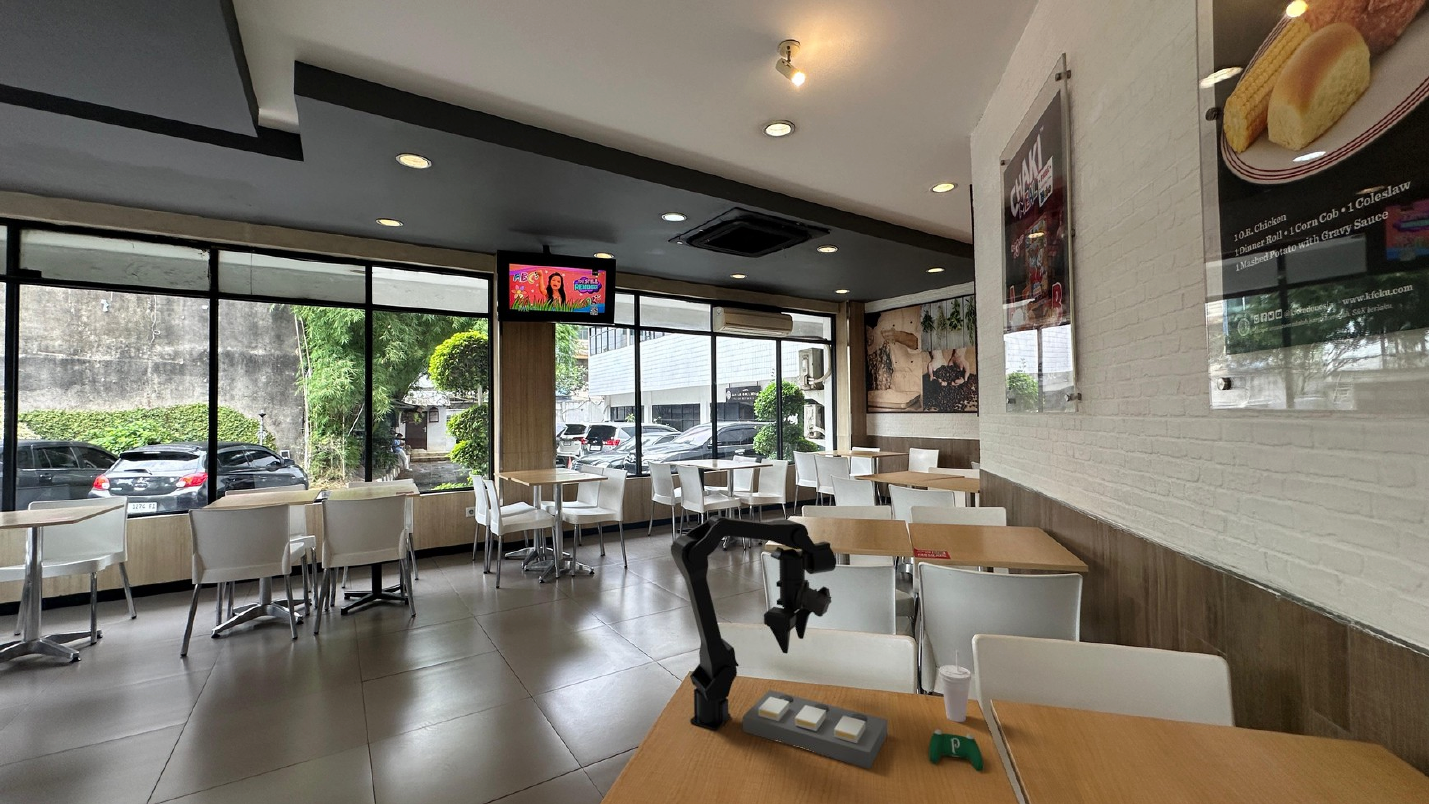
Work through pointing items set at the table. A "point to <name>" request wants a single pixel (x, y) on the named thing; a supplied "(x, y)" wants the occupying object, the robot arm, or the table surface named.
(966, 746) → the gaming controller
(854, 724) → the right button
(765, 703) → the left button
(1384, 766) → the table surface
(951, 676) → the smoothie
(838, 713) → the control panel
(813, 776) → the table surface
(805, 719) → the middle button
